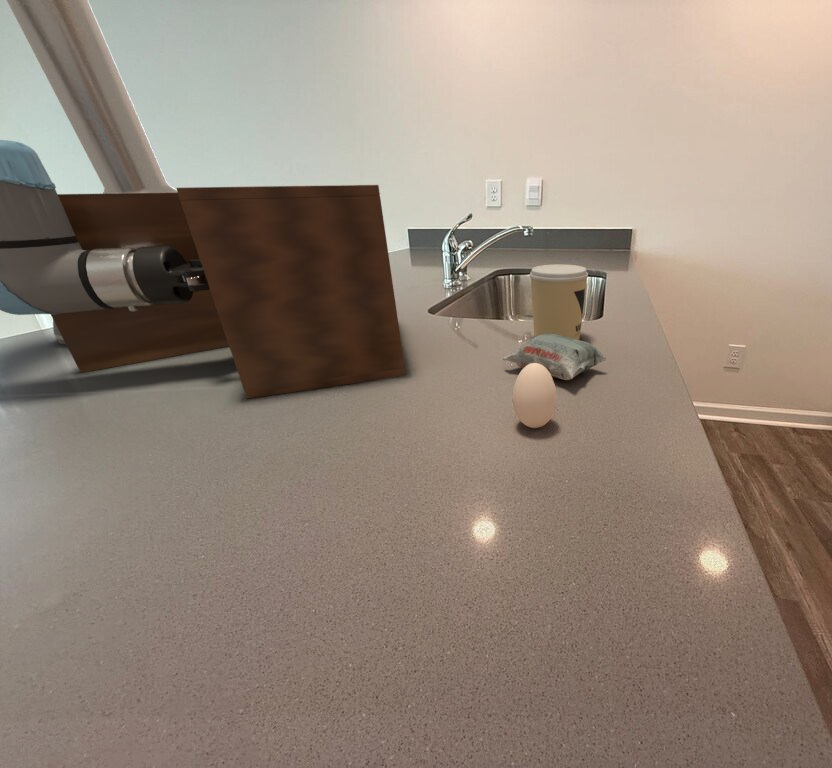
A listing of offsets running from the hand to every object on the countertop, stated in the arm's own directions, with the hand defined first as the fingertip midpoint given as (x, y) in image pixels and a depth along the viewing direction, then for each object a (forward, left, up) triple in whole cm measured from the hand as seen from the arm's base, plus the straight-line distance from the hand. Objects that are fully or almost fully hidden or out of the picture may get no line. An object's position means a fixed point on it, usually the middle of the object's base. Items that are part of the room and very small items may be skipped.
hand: (334, 264), depth 61 cm
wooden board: (-2, -2, -14) cm, 14 cm away
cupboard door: (-24, -17, -14) cm, 33 cm away
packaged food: (+30, +14, -14) cm, 36 cm away
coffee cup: (+22, +26, -14) cm, 37 cm away
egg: (+37, +1, -14) cm, 40 cm away
